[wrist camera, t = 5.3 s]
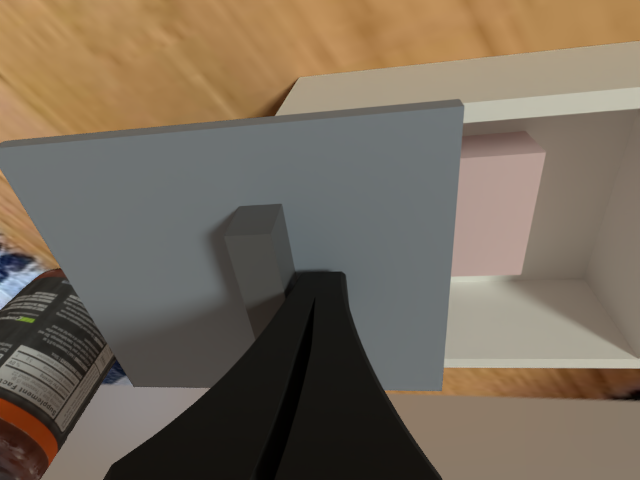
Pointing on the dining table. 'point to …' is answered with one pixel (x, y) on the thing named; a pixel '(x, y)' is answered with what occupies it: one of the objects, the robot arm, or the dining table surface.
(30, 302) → the supplement bottle
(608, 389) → the dining table surface
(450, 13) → the dining table surface
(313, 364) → the robot arm
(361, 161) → the lid
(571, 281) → the box
